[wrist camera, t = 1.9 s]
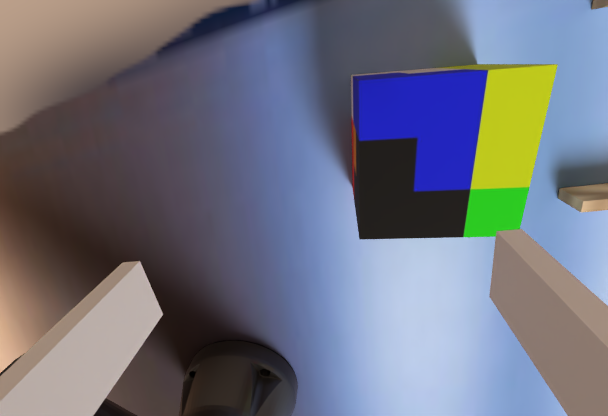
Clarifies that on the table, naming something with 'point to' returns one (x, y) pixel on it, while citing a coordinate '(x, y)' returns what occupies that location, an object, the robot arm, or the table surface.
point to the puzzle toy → (446, 148)
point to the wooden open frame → (588, 195)
